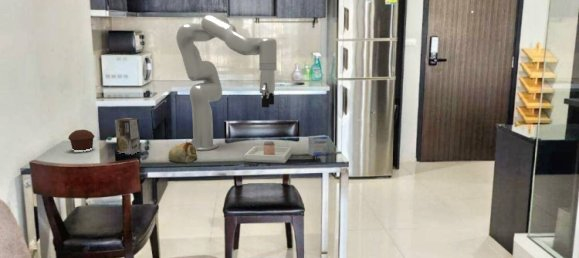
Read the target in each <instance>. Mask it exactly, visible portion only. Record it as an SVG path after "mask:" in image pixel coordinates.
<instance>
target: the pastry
mask: <svg viewBox="0 0 579 258" xmlns="http://www.w3.org/2000/svg"><path fill="white" fill-rule="evenodd" d="M197 158H198V154H197V150H196V148H195V147H194V146H193V145H192V144H191V143H186V142H183V143H181V144H179V145H175V146H174V147H172V148H171V149H170V150H169V152H168V160H169V161H171V162H175V163H177V162H179V163H180V162H183V164H189V163H188V162H190V163H192V161H193V162H194V161H195V160H196V159H197Z"/></svg>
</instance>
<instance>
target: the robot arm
mask: <svg viewBox="0 0 579 258" xmlns="http://www.w3.org/2000/svg"><path fill="white" fill-rule="evenodd" d="M216 38H217V39H218V40H220V41H223V42H224V44H225V45H226V46H227V47H228V48H229V49H230V50H232V51H234V52H236V53H237V54H240V55H241V56H258V55H259V56H258V58H259V59H258V60H259V61H258V62H259V65H258V66H259V67H258V69H259V71H260V75H259V93H260V94H261V108H270V105H271V106H273V105H275V88H276V82H275V81H276V79H275V78H276V77H275V76H276V74H275V73H276V72H275V71H277V69H278V67H277V66H278V65H277V55H278V54H277V52H278V51H277V47H278V46H277V40H276V39H275V38H262V37H261V38H260V37H244V36H242V35H241V34H239V33H237V27H236V26H235V25H234V24H231V23H230V21H229V19H228V18H227V17H226V16H224V15H222V14H206V15H205V16H203V17H202V19H201V21H200V23H197V22H196V23H193V22H190V23H185V24H182V25H181V26H180V27H179V28H178V30H177V32H176V37H175V39H176V44H177V46H178V47H177V48H178V49H179V51H180V54H181V57H182V61H183V66H184V69H185V71H186V72H185V73H186V76H187V78H188V79H189V81H191V82H200V83H196V84H194V85H193V86H191V88H190V90H189V99H190V102H191V103H190V104H191V111H192V112H191V113H192V115H191V116H192V134H193V135H192V137H193V138H191V139H190V138H186V139H185V143H191V144H192V145H193V146H194V147H195V148H196V151H210V150H211V151H212V150H214V149H216V148H217V144H216V143H214V127H213V123H214V122H213V109H212V107H211V104H210V103H212V102H217V101H218V100H220V99H221V97H222V96H223V95H222V94H223V87H222V83H221V81H220V76H219V73H218V70H217V66H215V64H214V63H213V62H212V61H209V60H208V61H207V60H203V59H202V57H201V54H200V51H199V49H198V47H197V45H195V43H194V42H196V43H198V42H199V43H200V42H202V43H203V42H208V41H212V40H214V39H216Z"/></svg>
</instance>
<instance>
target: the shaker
mask: <svg viewBox="0 0 579 258" xmlns="http://www.w3.org/2000/svg"><path fill="white" fill-rule="evenodd" d="M263 146H264V155H275V147H276V146H275V142H274V141H271V140H270V141H269V140H268V141H264V142H263Z"/></svg>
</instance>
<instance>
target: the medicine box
mask: <svg viewBox="0 0 579 258" xmlns="http://www.w3.org/2000/svg"><path fill="white" fill-rule="evenodd" d="M328 142H329V137H328V136H327V135H325V134H322V135H320V134H319V135H310V136H308V155H309V156H311V157H318V156H326V155H328V154H329V153H328V149H329V148H328V144H329V143H328Z"/></svg>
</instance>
